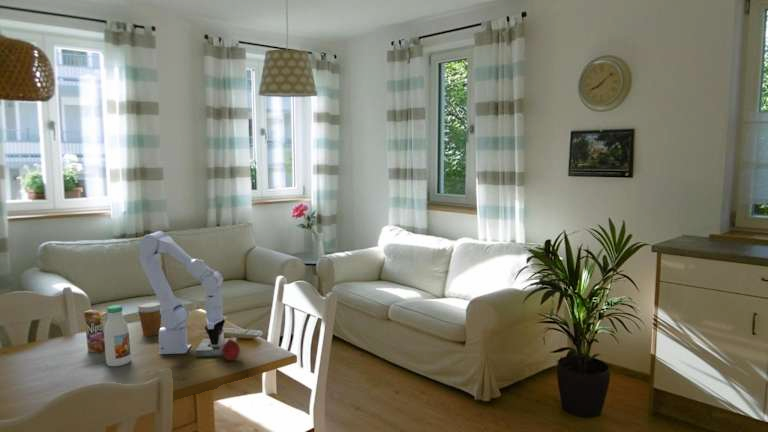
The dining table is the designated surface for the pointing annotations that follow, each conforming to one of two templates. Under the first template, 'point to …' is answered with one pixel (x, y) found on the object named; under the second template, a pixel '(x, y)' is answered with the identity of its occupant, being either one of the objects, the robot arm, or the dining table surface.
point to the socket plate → (210, 349)
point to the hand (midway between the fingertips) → (216, 342)
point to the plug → (221, 339)
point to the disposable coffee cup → (150, 317)
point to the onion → (230, 350)
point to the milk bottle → (116, 338)
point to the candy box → (95, 329)
